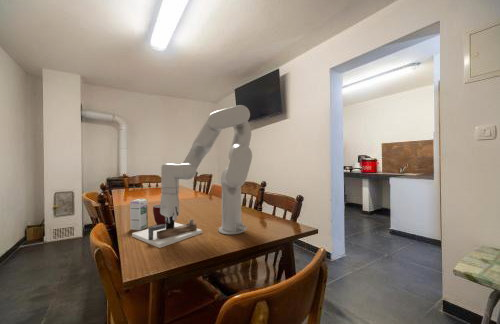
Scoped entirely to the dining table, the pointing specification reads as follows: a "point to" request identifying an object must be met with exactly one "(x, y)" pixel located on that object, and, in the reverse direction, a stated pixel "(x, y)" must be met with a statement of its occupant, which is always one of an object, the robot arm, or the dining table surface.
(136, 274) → the dining table surface
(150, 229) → the block
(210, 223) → the dining table surface
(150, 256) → the dining table surface
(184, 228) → the walnut link
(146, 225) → the syrup box
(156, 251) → the dining table surface
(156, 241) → the pintle board
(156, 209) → the mug
